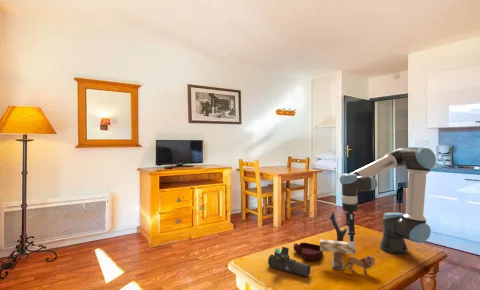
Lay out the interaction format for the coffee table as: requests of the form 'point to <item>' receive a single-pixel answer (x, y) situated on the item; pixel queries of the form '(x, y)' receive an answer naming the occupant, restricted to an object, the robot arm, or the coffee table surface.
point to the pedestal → (337, 261)
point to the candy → (278, 250)
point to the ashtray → (308, 251)
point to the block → (337, 247)
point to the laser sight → (288, 263)
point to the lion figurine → (361, 263)
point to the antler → (337, 228)
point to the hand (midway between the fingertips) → (350, 242)
